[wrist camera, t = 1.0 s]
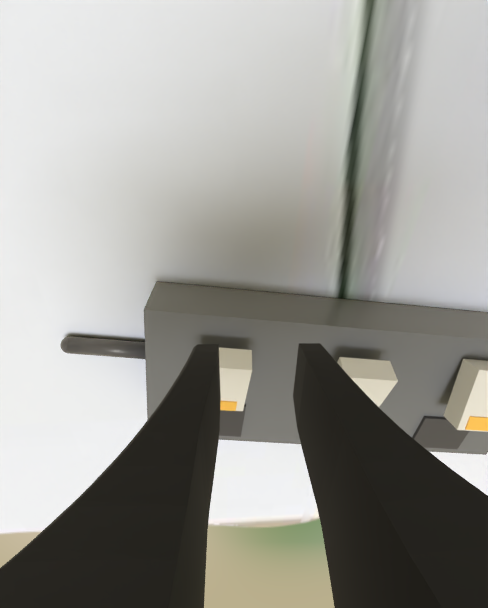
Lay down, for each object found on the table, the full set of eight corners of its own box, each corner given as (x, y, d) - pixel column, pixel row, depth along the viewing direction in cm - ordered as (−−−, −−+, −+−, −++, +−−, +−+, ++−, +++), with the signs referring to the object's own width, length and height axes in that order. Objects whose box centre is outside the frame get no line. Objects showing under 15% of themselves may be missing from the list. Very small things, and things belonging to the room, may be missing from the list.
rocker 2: (389, 360, 17) (398, 382, 16) (364, 400, 19) (370, 420, 18) (339, 357, 17) (345, 378, 16) (319, 397, 19) (324, 417, 18)
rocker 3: (508, 362, 18) (528, 374, 17) (486, 418, 19) (503, 433, 18) (463, 358, 18) (480, 370, 17) (443, 415, 19) (458, 430, 18)
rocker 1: (251, 349, 16) (252, 371, 15) (242, 391, 19) (242, 412, 18) (198, 345, 16) (195, 367, 15) (195, 388, 19) (193, 409, 18)
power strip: (524, 315, 21) (569, 348, 18) (459, 418, 25) (487, 457, 22) (53, 271, 18) (21, 301, 16) (74, 393, 23) (52, 432, 20)
